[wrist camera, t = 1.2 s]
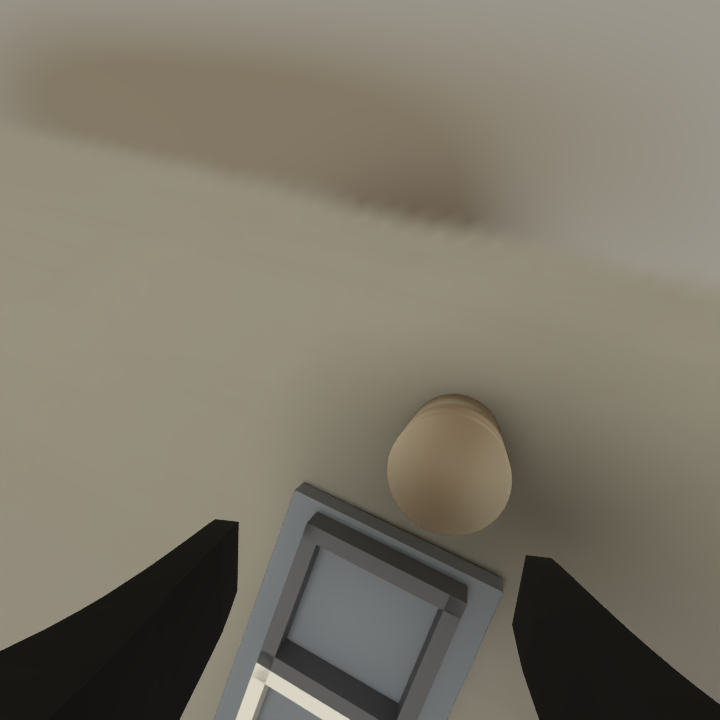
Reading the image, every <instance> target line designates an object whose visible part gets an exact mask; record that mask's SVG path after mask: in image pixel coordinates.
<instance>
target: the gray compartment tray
mask: <svg viewBox="0 0 720 720" xmlns="http://www.w3.org/2000/svg"><path fill="white" fill-rule="evenodd" d="M502 593H503V587H502V579H501V578H500V577H498V576H496V575H494V574H492V573H490V572H488V571H486V570H484V569H482V568H479V567H477V566H475V565H473V564H471V563H469V562H467V561H465V560H463V559H461V558H459V557H457V556H455V555H453V554H451V553H448V552H446V551H444V550H442V549H440V548H438V547H436V546H434V545H432V544H430V543H428V542H426V541H424V540H422V539H419V538H417V537H415V536H413V535H411V534H409V533H407V532H405V531H403V530H401V529H399V528H397V527H395V526H393V525H390V524H388V523H386V522H384V521H382V520H380V519H378V518H376V517H374V516H372V515H370V514H368V513H366V512H364V511H361V510H359V509H357V508H355V507H353V506H351V505H349V504H347V503H345V502H343V501H341V500H339V499H337V498H335V497H333V496H330V495H328V494H326V493H324V492H322V491H320V490H318V489H316V488H314V487H312V486H310V485H308V484H306V483H303V484H301V485H300V486H299V487H298V488H297V489H295V491H294V494H293V497H292V499H291V502H290V505H289V508H288V511H287V513H286V516H285V519H284V522H283V525H282V528H281V530H280V533H279V536H278V539H277V542H276V545H275V547H274V550H273V553H272V556H271V559H270V562H269V564H268V567H267V570H266V573H265V576H264V579H263V581H262V584H261V587H260V590H259V593H258V596H257V598H256V601H255V604H254V607H253V610H252V612H251V615H250V618H249V621H248V624H247V627H246V629H245V632H244V635H243V638H242V641H241V644H240V646H239V649H238V652H237V655H236V658H235V661H234V663H233V666H232V669H231V672H230V675H229V678H228V680H227V683H226V686H225V689H224V692H223V695H222V697H221V700H220V703H219V706H218V709H217V711H216V714H215V717H214V720H447V718H448V716H449V714H450V711H451V709H452V707H453V705H454V702H455V700H456V698H457V696H458V693H459V691H460V689H461V686H462V684H463V682H464V680H465V677H466V675H467V673H468V671H469V668H470V666H471V664H472V661H473V659H474V657H475V655H476V652H477V650H478V648H479V646H480V643H481V641H482V639H483V637H484V634H485V632H486V630H487V627H488V625H489V623H490V621H491V618H492V616H493V614H494V612H495V609H496V607H497V605H498V603H499V600H500V598H501V596H502Z"/></svg>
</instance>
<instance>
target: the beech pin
mask: <svg viewBox="0 0 720 720" xmlns="http://www.w3.org/2000/svg"><path fill="white" fill-rule="evenodd" d="M387 479H388V484H389V488H390V491H391V494H392V496H393V498H394V500H395V502H396V504H397V505H398V507H399V508H400V510H401V511H402V512H403V513H404V514H405V515H406V516H407V517H408V518H409V519H410V520H411V521H412V522H414V523H415V524H417V525H418V526H420V527H422V528H423V529H425V530H428V531H430V532H433V533H436V534H440V535H446V536H462V535H468V534H472V533H475V532H477V531H480V530H482V529H484V528H485V527H487V526H488V525H490V524H491V523H492V522H494V521H495V520H496V519H497V518H498V516H499V515H500V514H501V513H502V511H503V510H504V508H505V506H506V504H507V502H508V499H509V497H510V493H511V488H512V472H511V467H510V462H509V459H508V456H507V452H506V449H505V446H504V442H503V439H502V436H501V433H500V429H499V426H498V424H497V421H496V420H495V418H494V416H493V415H492V413H491V412H490V411H489V410H488V409H487V408H486V407H485V406H484V405H483V404H482V403H480V402H478V401H477V400H475V399H473V398H470V397H467V396H464V395H457V394H449V395H443V396H439V397H436V398H434V399H432V400H430V401H429V402H427V403H426V404H425V405H424V406H423V407H421V409H420V410H419V411H418V412H417V414H416V415H415V416H414V417H413V419H412V420H411V421H410V422H409V424H408V425H407V426H406V428H405V429H404V430H403V431H402V433H401V434H400V435H399V437H398V438H397V440H396V441H395V443H394V444H393V447H392V449H391V451H390V454H389V458H388V463H387Z"/></svg>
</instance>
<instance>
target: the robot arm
mask: <svg viewBox="0 0 720 720" xmlns="http://www.w3.org/2000/svg"><path fill="white" fill-rule="evenodd" d="M238 529H239V522H235V521H226V520H217V519H215V520H214V521H212V522H211V523H209V524H208V525H206V526H205V527H204V528H202V529H201V530H200V531H198V532H197V533H195V534H194V535H193V536H191V537H190V538H189V539H187V540H186V541H185V542H183V543H182V544H181V545H179V546H178V547H176V548H175V549H174V550H172V551H171V552H169V553H168V554H167V555H165V556H164V557H162V558H161V559H160V560H158V561H157V562H155V563H154V564H153V565H151V566H150V567H148V568H147V569H145V570H144V571H142V572H141V573H139V574H138V575H136V576H135V577H133V578H131V579H130V580H128V581H127V582H125V583H124V584H122V585H121V586H119V587H118V588H116V589H115V590H113V591H112V592H110V593H108V594H107V595H105V596H104V597H102V598H100V599H99V600H97V601H95V602H94V603H92V604H90V605H88V606H87V607H85V608H83V609H82V610H80V611H78V612H76V613H74V614H73V615H71V616H69V617H67V618H65V619H63V620H62V621H60V622H58V623H56V624H54V625H52V626H51V627H49V628H47V629H45V630H43V631H41V632H39V633H37V634H35V635H32V636H30V637H28V638H26V639H24V640H22V641H20V642H18V643H16V644H14V645H12V646H10V647H8V648H6V649H4V650H2V651H0V720H180V718H181V716H182V713H183V711H184V709H185V707H186V705H187V703H188V701H189V699H190V697H191V695H192V693H193V691H194V689H195V687H196V685H197V683H198V681H199V679H200V677H201V675H202V673H203V671H204V669H205V667H206V665H207V663H208V661H209V659H210V657H211V655H212V653H213V651H214V648H215V646H216V644H217V642H218V640H219V638H220V636H221V634H222V632H223V629H224V626H225V624H226V621H227V618H228V615H229V613H230V610H231V607H232V604H233V601H234V599H235V596H236V593H237V579H238ZM512 626H513V630H514V635H515V640H516V644H517V649H518V653H519V657H520V662H521V666H522V670H523V673H524V676H525V679H526V682H527V685H528V688H529V691H530V694H531V697H532V700H533V703H534V706H535V709H536V711H537V714H538V717H539V720H720V704H718V703H717V702H716V701H714V700H713V699H712V698H710V697H709V696H708V695H706V694H705V693H704V692H703V691H701V690H700V689H699V688H697V687H696V686H695V685H694V684H692V683H691V682H690V681H689V680H687V679H686V678H685V677H684V676H682V675H681V674H680V673H679V672H677V671H676V670H675V669H674V668H673V667H671V666H670V665H669V664H668V663H667V662H665V661H664V660H663V659H662V658H661V657H660V656H658V655H657V654H656V653H655V652H654V651H652V650H651V649H650V648H649V647H648V646H647V645H645V644H644V643H643V642H642V641H641V640H640V639H639V638H637V637H636V636H635V635H634V634H633V633H632V632H631V631H630V630H628V629H627V628H626V627H625V626H624V625H623V624H622V623H621V622H620V621H619V620H617V619H616V618H615V617H614V616H613V615H612V614H611V613H610V612H609V611H608V610H607V609H606V608H604V607H603V606H602V605H601V604H600V603H599V602H598V601H597V600H596V599H595V598H594V597H593V596H592V595H591V594H590V593H589V592H587V591H586V590H585V589H584V588H583V587H582V586H581V585H580V584H579V583H578V582H577V581H576V580H575V579H574V578H573V577H572V576H571V575H569V574H568V573H567V572H566V571H565V570H564V569H563V568H562V567H561V566H560V565H559V564H557V563H556V562H555V561H554V560H553V559H552V558H545V557H537V556H528V555H526V558H525V563H524V568H523V573H522V578H521V583H520V588H519V593H518V598H517V603H516V608H515V613H514V618H513V623H512Z"/></svg>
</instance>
